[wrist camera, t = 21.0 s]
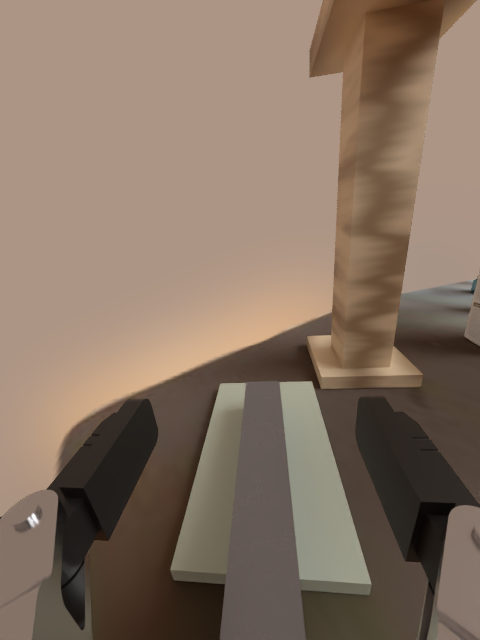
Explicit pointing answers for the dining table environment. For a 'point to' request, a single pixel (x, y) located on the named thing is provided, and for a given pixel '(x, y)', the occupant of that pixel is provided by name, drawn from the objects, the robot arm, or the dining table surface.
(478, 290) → the syrup box
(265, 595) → the long grey plank
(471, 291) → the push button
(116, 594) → the dining table surface
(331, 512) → the mat
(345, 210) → the stand
